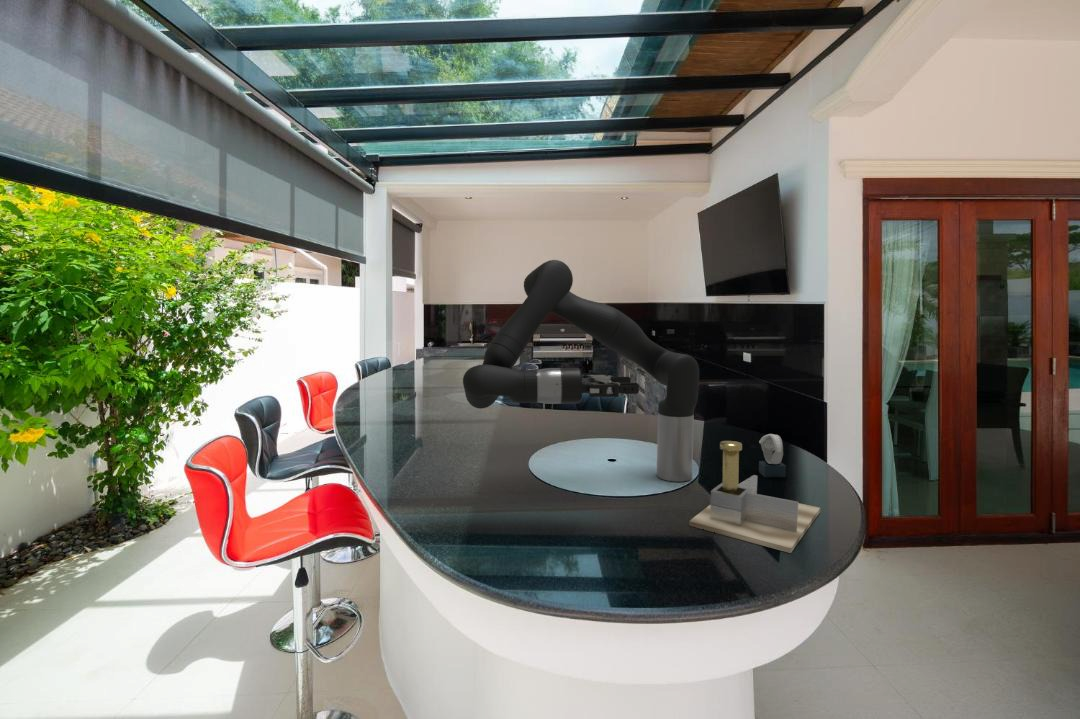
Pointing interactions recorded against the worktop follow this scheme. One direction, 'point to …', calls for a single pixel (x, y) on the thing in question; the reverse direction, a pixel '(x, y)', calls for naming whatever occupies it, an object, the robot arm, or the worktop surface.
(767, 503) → the hinge
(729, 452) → the hinge pin
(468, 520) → the worktop surface
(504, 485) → the worktop surface
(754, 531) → the board
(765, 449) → the watch
